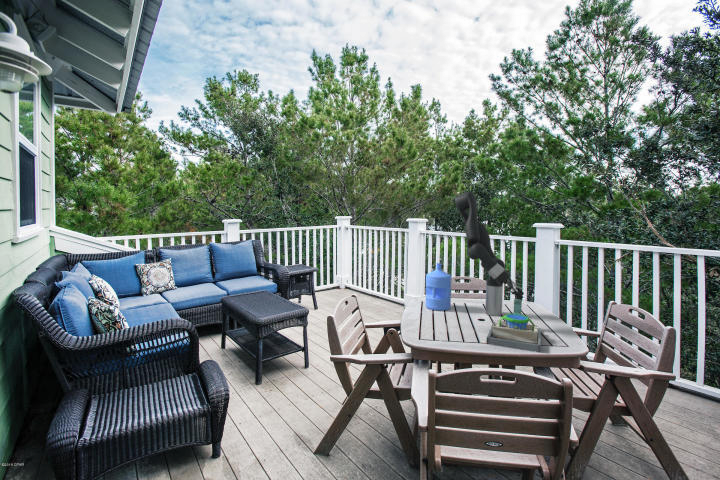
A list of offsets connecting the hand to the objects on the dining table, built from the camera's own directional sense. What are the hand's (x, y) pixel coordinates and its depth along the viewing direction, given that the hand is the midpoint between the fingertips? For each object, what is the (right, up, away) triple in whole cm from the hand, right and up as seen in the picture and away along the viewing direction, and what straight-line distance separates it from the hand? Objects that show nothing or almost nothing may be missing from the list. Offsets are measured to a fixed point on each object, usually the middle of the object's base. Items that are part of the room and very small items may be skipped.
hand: (522, 296), depth 189 cm
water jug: (-35, -13, +41) cm, 55 cm away
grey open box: (-7, -17, -8) cm, 20 cm away
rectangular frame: (-10, -18, -14) cm, 25 cm away
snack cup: (-9, -18, -13) cm, 24 cm away
